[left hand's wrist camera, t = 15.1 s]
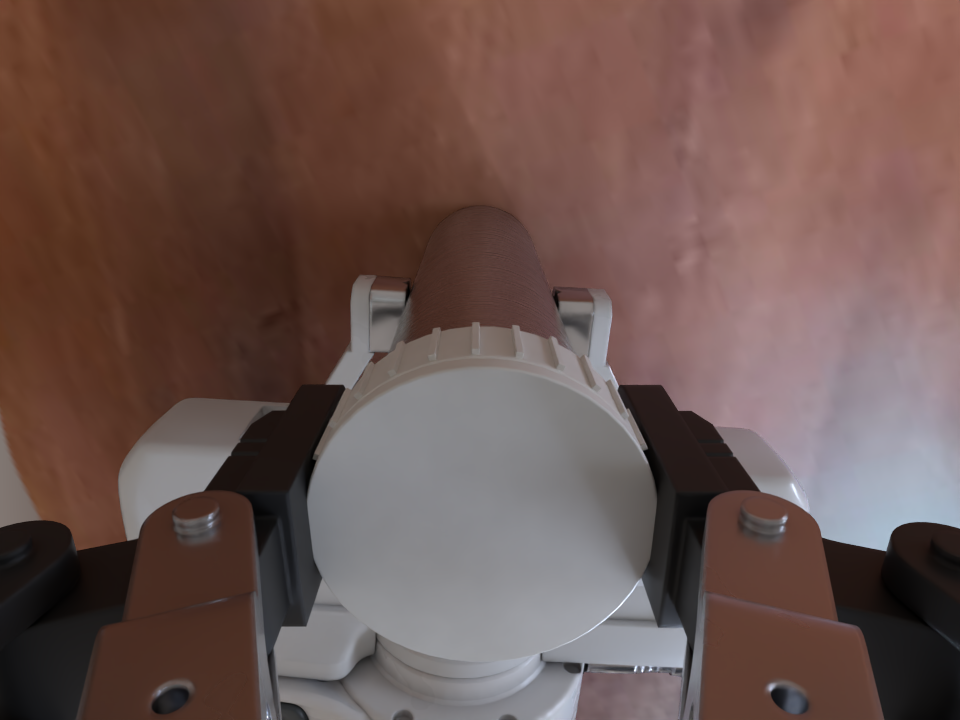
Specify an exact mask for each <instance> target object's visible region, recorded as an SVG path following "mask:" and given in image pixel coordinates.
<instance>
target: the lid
mask: <svg viewBox="0 0 960 720" xmlns="http://www.w3.org/2000/svg"><path fill="white" fill-rule="evenodd" d="M646 449H648V448H647V445H646V443H645V441H644V439H643V437H642V435H641V433H640V431H639V429H638V426H637V424H636V422H635V420H634V418H633V416H632V414H631V412H630V410H629V409H626V408H625V406H624V404H623V402H622V400H621V398H620V395H619V393H618V391H617V389H616V387H615V385H614V383H613V382H612V381H611V379H610V380H608V381H607V382H606V381H605V380H604V379H603V378H602V377H601V376H600V375H599V374H598V373H597V372H596V371H595V370H594V369H593V367H592V365H591V362H590V360H589V358H588V357H587V356H586V355H582V357H581V358H580V357H578V356H577V355H576V354H574V353H573V352H571V351H570V350H568V349H566V348H564V347H562V346H561V345H559V344H558V341H557V338H555V337H553V336H550V337H549V339H545V338H543V337H540V336H538V335H535V334H531V333H527V332H523V331H520V328H519V326H517V325H512V329H508V328H500V327H480V323H479V322H472V327H463V328H455V329H448V330H445V331H441V330H440V327H437V328H434V329H433V332H432V334H429V335H426V336H424V337H421V338H419V339H416V340H413V341H411V342H409V343H407V344H405V343H404V341H400V342H399V343H397V345H396V348H395V350H394V351H392V352H391V353H389V354H388V355H387V356H385V357H384V358H382V359H381V360H380V361H378V362H377V363H376V364H374V363H373V362H372V361H371V362H370V363H368V364H367V366H366V368H365V370H364V373H363V375H362V377H361V378H360V379H359V381H358V382H357V383H356V385H355V386H354V387H353V389H352V390H350V389H349V388H346V389H345V391H344V393H343V395H342V397H341V399H340V401H339V403H338V405H337V407H336V410H335V412H334V414H333V416H332V418H331V419H330V421H329V423H328V425H327V427H326V429H325V431H324V434H323V436H322V438H321V440H320V442H319V444H318V446H317V448H316V451H315V453H314V455H313V459H314V460H317V461H316V464H315V467H314V469H313V472H312V475H311V477H310V481H309V486H308V491H307V507H308V516H309V525H310V533H311V541H312V550H313V557H314V561H315V563H316V566H317V568H318V570H319V572H320V575H321V576H322V578H323V579H324V581H325V583H326V584H327V586H328V587H329V589H330V591H331V592H332V593H333V594H334V596H335V597H336V598H337V599H338V600H339V602H340V603H341V604H342V605H343V606H344V607H345V608H346V609H347V610H348V611H349V612H350V613H351V614H352V615H353V616H354V617H356V618H357V619H358V620H359V621H360V622H362V623H363V624H365V625H366V626H367V627H369V628H370V629H371V630H373V631H374V632H376V633H378V634H379V635H381V636H383V637H385V638H387V639H388V640H390V641H392V642H394V643H397V644H399V645H401V646H404V647H406V648H408V649H411V650H414V651H417V652H420V653H424V654H427V655H430V656H435V657H440V658H445V659H450V660H459V661H469V662H494V661H504V660H514V659H519V658H524V657H529V656H533V655H537V654H540V653H543V652H546V651H550V650H553V649H555V648H558V647H560V646H562V645H565V644H567V643H569V642H572V641H573V640H575V639H577V638H579V637H580V636H582V635H584V634H586V633H588V632H589V631H591V630H592V629H594V628H595V627H596V626H598V625H599V624H600V623H602V622H603V621H605V620H606V619H607V618H608V617H609V616H610V615H611V614H612V613H613V612H615V611H616V610H617V609H618V608H619V607H620V606H621V605H622V603H623V602H624V601H625V600H626V599H627V598H628V596H629V595H630V594H631V593H632V592H633V590H634V588H635V587H636V585H637V584H638V582H639V581H640V579H641V577H642V576H643V574H644V572H645V570H646V567H647V565H648V563H649V561H650V556H651V549H652V540H653V532H654V524H655V516H656V507H657V490H656V485H655V480H654V477H653V475H652V472H651V469H650V466H649V464H648V461H647V459H646V457H645V454H644V452H643V451H644V450H646Z"/></svg>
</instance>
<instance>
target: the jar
mask: <svg viewBox="0 0 960 720" xmlns="http://www.w3.org/2000/svg"><path fill="white" fill-rule="evenodd" d="M472 322H479V323H480V327H500V328H508V329H512V325H517V326H519V328H520V331H523V332H527V333H531V334H535V335H538V336H540V337H543V338H545V339H549V337H550V336H553V337H555V338H557V341H558V344H559V345H561V346H562V347H564V348H566V349H568V350H570V351H571V352H573V349H572V346H571V344H570V341H569V338H568V336H567V333H566V330H565V328H564V325H563V322H562V320H561V317H560V314H559V312H558V309H557V306H556V304H555V301H554V299H553V296H552V293H551V291H550V288H549V285H548V283H547V280H546V277H545V275H544V272H543V269H542V267H541V264H540V261H539V259H538V256H537V253H536V251H535V248H534V245H533V243H532V240H531V237H530V236H529V234H528V232H527V230H526V229H525V228H524V226H523V225H522V224H521V223H520V222H519V221H518V220H517V219H516V218H514V217H513V216H512V215H510V214H509V213H507V212H505V211H503V210H500V209H498V208H494V207H489V206H472V207H467V208H463V209H461V210H458V211H456V212H454V213H452V214H451V215H449V216H448V217H446V218H445V219H444V220H443V221H442V222H441V223H440V224H439V225H438V226H437V228H436V229H435V230H434V232H433V234H432V235H431V237H430V240H429V242H428V245H427V248H426V251H425V253H424V256H423V259H422V262H421V264H420V267H419V270H418V273H417V275H416V278H415V281H414V284H413V286H412V289H411V292H410V295H409V297H408V300H407V303H406V306H405V308H404V311H403V314H402V317H401V319H400V322H399V325H398V328H397V331H396V333H395V336H394V339H393V342H392V344H391V347H390V350H389V353H391V352H392V351H394V350H395V348H396V345H397V343H399V342H400V341H404V343H405V344H407V343H409V342H411V341H413V340H416V339H419V338H421V337H424V336H426V335H429V334H432V332H433V329H434V328H437V327H440V330H441V331H445V330H448V329H455V328H463V327H472ZM389 353H388V354H389ZM573 353H574V352H573Z"/></svg>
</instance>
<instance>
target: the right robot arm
mask: <svg viewBox="0 0 960 720" xmlns="http://www.w3.org/2000/svg"><path fill="white" fill-rule="evenodd" d="M410 292H411V279H410V278H399V277H386V276H377V275H359V276H358V278H357V279H356V281H355V282H354V284H353V288H352V294H351V341H350V343H349V345H348V346H347V348H346V350H345V351H344V353H343V354H342V356H341V358H340V359H339V361H338V362H337V364H336V366H335V367H334V369H333V371H332V372H331V374H330V375H329V377H328V379H327V381H326V382H325V384H324V385H344V386H345V389H346V388H349V389H350V390H352V389H353V387H354V386H355V385H356V383H357V382H358V381H359V380H358V379H359V377H360V375H361V374H362V372H363V371H364V369H365V367H366V366H367V364H368V363H369V361H370V359H371V358H372V356H373V355H374V353H375V352H389V350H390V347H391V344H392V342H393V339H394V336H395V333H396V331H397V328H398V325H399V322H400V319H401V317H402V314H403V311H404V308H405V306H406V303H407V300H408V297H409V295H410ZM552 296H553V299H554V301H555V304H556V306H557V309H558V312H559V314H560V317H561V320H562V322H563V325H564V328H565V330H566V333H567V336H568V338H569V341H570V344H571V346H572V349H573V352H574V354H576V355H577V356H578V357H580V358H581V357H582V355H586V356H587V357H588V358H589V360H590V362H591V365H592V367H593V369H594V370H595V371H596V372H597V373H598V374H599V375H600V376H601V377H602V378H603V379H604V380H605V381H606V382H607V381H608V380H610V379H611V381H612V382H613V383H614V385H615V387H616V389H617V390H618V387H619V386H618V384H617V382H616V379H615V377H614V375H613V373H612V371H611V368H610V366H609V364H608V362H607V360H606V355H607V348H608V341H609V334H610V327H611V320H612V302H611V299H610V297H609V296H608V294H607V293H606V291H605V290H604V289H590V288H572V287H554V288H553V291H552ZM289 404H290V403H280V402H262V401H244V400H226V399H210V398H187V399H184V400H182V401H180V402H178V403H177V404H175V405H174V406H173V407H172V408H171V409H170V410H168V411H167V412H166V413H165V414H164V415H163V416H162V417H161V418H159V419H158V420H157V421H156V422H155V423H154V424H153V425H152V426H151V427H150V428H149V429H148V430H147V431H146V432H145V433H144V434H143V435H142V436H141V438H140V439H139V440H138V441H137V442H136V443H135V445H134V446H133V447H132V449H131V450H130V452H129V453H128V454H127V456H126V457H125V459H124V461H123V463H122V465H121V468H120V472H119V477H118V492H119V500H120V507H121V513H122V518H123V523H124V528H125V533H126V537H127V541H129V540H133V539H137V538H138V537H139V532H140V529H141V526H142V524H143V522H144V521H145V519H146V518H147V517H148V516H149V515H150V514H151V513H153V512H154V511H155V510H156V509H158V508H159V507H161V506H162V505H164V504H166V503H168V502H170V501H172V500H174V499H177V498H179V497H182V496H185V495H188V494H192V493H197V492H202V491H204V490H205V489H206V487H207V486H208V484H209V483H210V481H211V480H212V479H213V477H214V476H215V474H216V473H217V472H218V470H219V469H220V467H221V466H222V465H223V463H224V462H225V460H226V459H227V458H228V456H231V452H232V450H233V449H234V448H235V446H236V445H237V443H240V439H241V438H242V436H243V435H244V434H245V432H246V431H247V429H248V428H249V426H250V425H251V424H252V423H254V422H255V421H257V420H258V419H260V418H261V417H263V416H264V415H266V414H268V413H269V412H271V411H272V410H286V409H287V407H288V406H289ZM715 429H716V430H717V431H718V433H719V434H720V436H721V437H722V438H723V440H724V443H726V444H727V445H728V447H729V448H730V449H731V451H732V452H733V457H736V458H737V459H738V461H739V462H740V463H741V465H742V466H743V468H744V469H745V470H746V472H747V473H748V475H749V476H750V477H751V479H752V480H753V481H754V483H755V484H756V486H757V487H758V488H759V490H760V491H761V492H763V493H768V494H772V495H775V496H778V497H781V498H783V499H786V500H788V501H790V502H792V503H794V504H796V505H798V506H799V507H801V508H802V509H804V510H805V511H806V512H807V513H809V503H808V499H807V497H806V494H805V492H804V490H803V488H802V487H801V485H800V483H799V481H798V480H797V478H796V477H795V475H794V474H793V473H792V471H791V470H790V468H789V467H788V466H787V464H786V463H785V462H784V461H783V459H782V458H781V457H780V456H779V455H778V454H777V453H776V452H775V450H774V449H773V448H772V447H771V446H770V445H769V444H768V443H767V442H766V441H765V440H764V439H763V438H762V437H761V436H760V435H759V434H757V433H756V432H754V431H752V430H749V429H743V428H730V427H715ZM686 642H687V636H686V634H685V631H684V629H683V628H658V626H657V623H656V620H655V617H654V614H653V611H652V608H651V605H650V602H649V599H648V596H647V593H646V590H645V587H644V584H643V581H642V578H641V579H640V581H639V582H638V584H637V585H636V587H635V588H634V590H633V592H632V593H631V594H630V595H629V596H628V598H627V599H626V600H625V601H624V602H623V603H622V605H621V606H620V607H619V608H618V609H617V610H616V611H615V612H613V613H612V614H611V615H610V616H609V617H608V618H607V619H606V620H605V621H603V622H602V623H600V624H599V625H598V626H596V627H595V628H594V629H592V630H591V631H589V632H588V633H586V634H584V635H582V636H580V637H579V638H577V639H575V640H573V641H572V642H569V643H567V644H565V645H562V646H560V647H558V648H555V649H553V650H550V651H546V652H543V653H540V654H537V655H533V656H529V657H524V658H519V659H514V660H504V661H494V662H469V661H459V660H450V659H445V658H440V657H435V656H430V655H427V654H424V653H420V652H417V651H414V650H411V649H408V648H406V647H404V646H401V645H399V644H397V643H394V642H392V641H390V640H388V639H387V638H385V637H383V636H381V635H379V634H378V633H376V632H374V631H373V630H371V629H370V628H369V627H367V626H366V625H365V624H363V623H362V622H360V621H359V620H358V619H357V618H356V617H354V616H353V615H352V614H351V613H350V612H349V611H348V610H347V609H346V608H345V607H344V606H343V605H342V604H341V603H340V602H339V600H338V599H337V598H336V597H335V596H334V594H333V593H332V592H331V591H330V589H329V587H328V586H327V584H326V583H325V581H324V579H323V578H322V581H321V584H320V587H319V590H318V593H317V596H316V599H315V602H314V605H313V608H312V611H311V614H310V617H309V620H308V623H307V626H306V627H281V630H280V632H279V635H278V638H277V640H276V643H275V645H274V649H275V655H276V661H277V672H278V683H279V694H280V705H281V715H282V720H575V719H576V713H577V705H578V700H579V694H580V688H581V682H582V676H583V674H584V672H591V673H611V674H634V673H636V674H637V673H642V672H643V673H648V672H658V673H669V674H670V675H672V676H678V677H682V672H683V661H684V655H685V649H686Z"/></svg>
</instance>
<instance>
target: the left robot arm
mask: <svg viewBox="0 0 960 720" xmlns="http://www.w3.org/2000/svg"><path fill="white" fill-rule="evenodd" d="M344 391H345V386H344V385H302V386H301V387H300V388H299V390H298V392H297V393H296V395H295V396H294V398H293V400H292V401H291V403H290V404H289V406H288V407H287V409H286V410H272V411H271V412H269V413H268V414H266V415H264V416H263V417H261V418H260V419H258V420H257V421H255V422H254V423H252V424H251V425H250V426H249V428H248V429H247V431H246V432H245V434H244V435H243V436H242V438H241V439H240V443H237V445H236V446H235V448H234V449H233V450H232V452H231V456H228V458H227V459H226V460H225V462H224V463H223V465H222V466H221V467H220V469H219V470H218V472H217V473H216V474H215V476H214V477H213V479H212V480H211V481H210V483H209V484H208V486H207V487H206V489H205V490H204V491H202V492H197V493H192V494H188V495H185V496H182V497H179V498H177V499H174V500H172V501H170V502H168V503H166V504H164V505H162V506H161V507H159V508H158V509H156V510H155V511H154V512H153V513H151V514H150V515H149V516H148V517H147V518H146V519H145V521H144V522H143V524H142V526H141V529H140V532H139V537H138V538H137V539H133V540H129V541H125V542H120V543H115V544H110V545H104V546H99V547H94V548H89V549H84V550H79V551H76V548H75V544H74V541H73V537H72V534H71V532H70V529H69V528H68V527H66V526H65V525H63V524H61V523H58V522H54V521H45V520H43V521H28V522H22V523H16V524H12V525H8V526H5V527H1V528H0V720H282V715H281V705H280V694H279V683H278V672H277V661H276V655H275V649H274V645H275V643H276V640H277V638H278V635H279V632H280V630H281V627H306V626H307V623H308V620H309V617H310V614H311V611H312V608H313V605H314V602H315V599H316V596H317V593H318V590H319V587H320V584H321V581H322V576H321V575H320V572H319V570H318V568H317V566H316V563H315V561H314V557H313V550H312V541H311V533H310V525H309V516H308V507H307V491H308V486H309V481H310V477H311V475H312V472H313V469H314V467H315V464H316V461H317V460H314V459H313V455H314V453H315V451H316V448H317V446H318V444H319V442H320V440H321V438H322V436H323V434H324V431H325V429H326V427H327V425H328V423H329V421H330V419H331V418H332V416H333V414H334V412H335V410H336V407H337V405H338V403H339V401H340V399H341V397H342V395H343V393H344ZM617 391H618V393H619V395H620V398H621V400H622V402H623V404H624V406H625V408H626V409H629V410H630V412H631V414H632V416H633V418H634V420H635V422H636V424H637V426H638V429H639V431H640V433H641V435H642V437H643V439H644V441H645V443H646V445H647V448H648V449H646V450H644V451H643V452H644V454H645V457H646V459H647V461H648V464H649V466H650V469H651V472H652V475H653V477H654V480H655V485H656V490H657V507H656V516H655V524H654V532H653V540H652V549H651V556H650V561H649V563H648V565H647V567H646V570H645V572H644V574H643V576H642V577H641V578H642V581H643V584H644V587H645V590H646V593H647V596H648V599H649V602H650V605H651V608H652V611H653V614H654V617H655V620H656V623H657V626H658V628H683V629H684V631H685V634H686V636H687V642H686V649H685V655H684V661H683V672H682V683H681V694H680V705H679V715H678V720H960V529H959V528H955V527H951V526H948V525H942V524H937V523H928V522H914V523H907V524H903V525H901V526H899V527H897V528H896V529H895V530H894V531H893V532H892V534H891V537H890V541H889V544H888V547H887V551H881V550H876V549H871V548H866V547H861V546H856V545H850V544H845V543H840V542H836V541H832V540H828V539H825V538H822V537H821V532H820V529H819V526H818V524H817V522H816V521H815V519H814V518H813V517H812V516H811V515H810V514H809V513H807V512H806V511H805V510H804V509H802V508H801V507H799V506H798V505H796V504H794V503H792V502H790V501H788V500H786V499H783V498H781V497H778V496H775V495H772V494H768V493H763V492H761V491H760V490H759V488H758V487H757V486H756V484H755V483H754V481H753V480H752V479H751V477H750V476H749V475H748V473H747V472H746V470H745V469H744V468H743V466H742V465H741V463H740V462H739V461H738V459H737V458H736V457H733V452H732V451H731V449H730V448H729V447H728V445H727V444H726V443H724V440H723V438H722V437H721V436H720V434H719V433H718V431H717V430H716V429H715V427H714V426H713V424H711V423H709V422H708V421H706V420H705V419H703V418H701V417H700V416H698V415H697V414H695V413H694V412H692V411H678V410H677V408H676V407H675V405H674V404H673V402H672V400H671V399H670V397H669V396H668V394H667V393H666V391H665V389H664V388H663V387H662V386H661V385H620V386H619V387H618V390H617Z"/></svg>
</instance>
